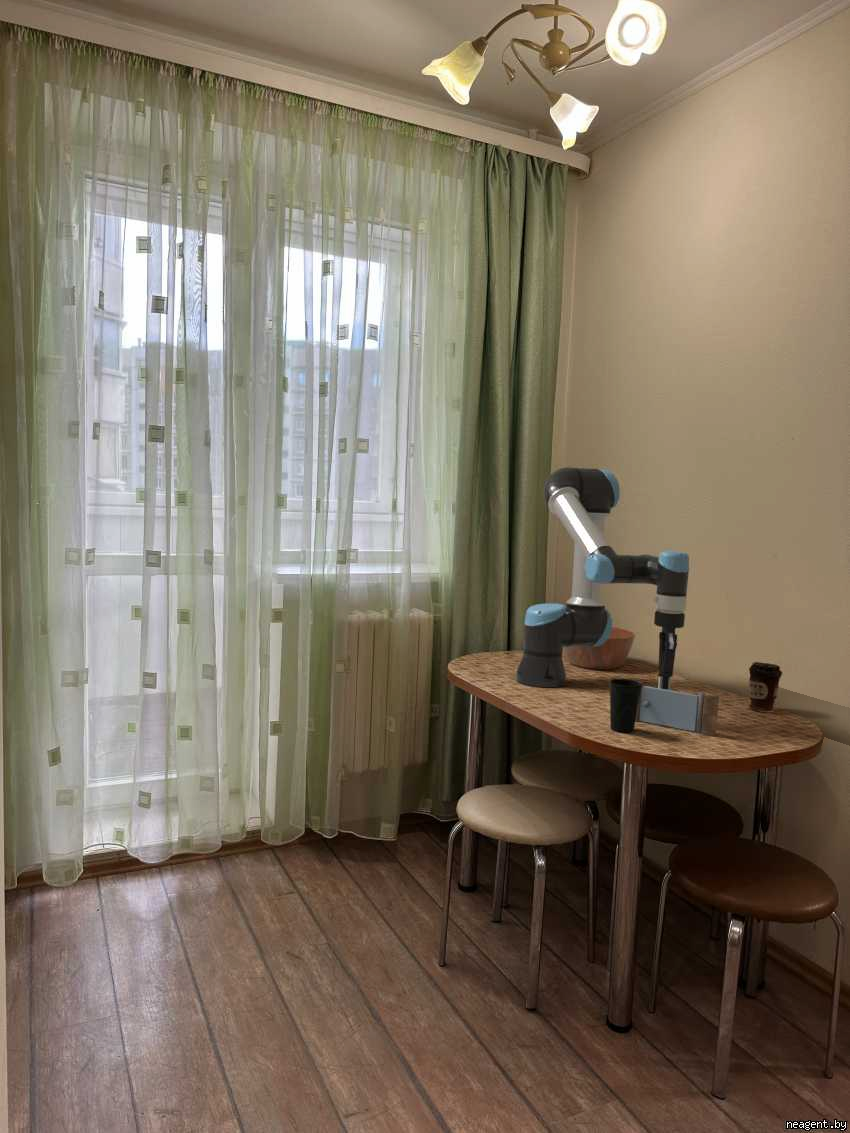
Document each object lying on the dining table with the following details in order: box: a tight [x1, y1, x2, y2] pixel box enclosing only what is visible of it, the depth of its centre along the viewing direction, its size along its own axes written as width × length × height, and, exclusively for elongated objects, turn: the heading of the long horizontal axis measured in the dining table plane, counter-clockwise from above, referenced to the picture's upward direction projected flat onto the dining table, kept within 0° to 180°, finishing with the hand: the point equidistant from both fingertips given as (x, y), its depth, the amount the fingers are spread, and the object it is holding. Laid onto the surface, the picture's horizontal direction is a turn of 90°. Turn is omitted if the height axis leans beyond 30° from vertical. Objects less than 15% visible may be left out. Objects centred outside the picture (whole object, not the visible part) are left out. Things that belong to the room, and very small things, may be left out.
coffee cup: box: [748, 661, 783, 713], centre depth 239 cm, size 9×8×13 cm
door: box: [638, 685, 706, 734], centre depth 217 cm, size 16×2×10 cm, turn 59°
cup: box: [609, 678, 643, 734], centre depth 212 cm, size 8×8×12 cm
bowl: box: [562, 626, 636, 671], centre depth 288 cm, size 25×25×11 cm
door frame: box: [635, 680, 720, 737], centre depth 217 cm, size 22×2×10 cm, turn 59°
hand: (663, 700), depth 224 cm, fingers closed
